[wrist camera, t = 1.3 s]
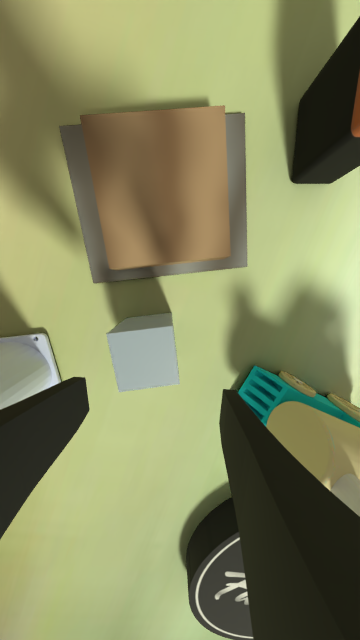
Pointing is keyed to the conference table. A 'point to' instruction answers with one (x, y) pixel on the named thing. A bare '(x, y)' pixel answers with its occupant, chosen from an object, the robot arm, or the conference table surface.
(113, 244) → the base block
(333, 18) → the conference table surface
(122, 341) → the block
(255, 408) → the toy train
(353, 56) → the battery
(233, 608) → the wall sign
